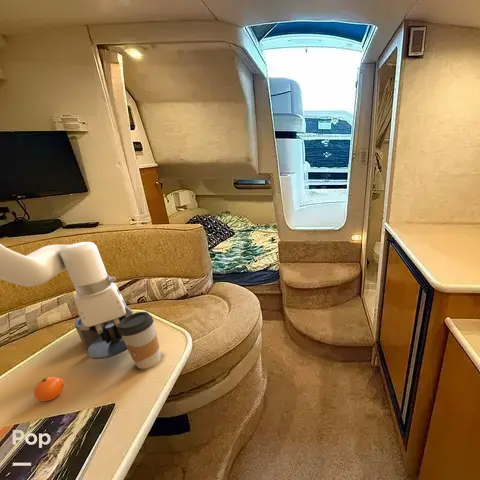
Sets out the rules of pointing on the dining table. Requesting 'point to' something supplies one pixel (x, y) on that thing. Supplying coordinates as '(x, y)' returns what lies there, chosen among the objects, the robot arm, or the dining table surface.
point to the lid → (107, 345)
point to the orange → (48, 388)
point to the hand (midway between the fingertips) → (114, 338)
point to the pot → (89, 333)
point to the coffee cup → (140, 339)
